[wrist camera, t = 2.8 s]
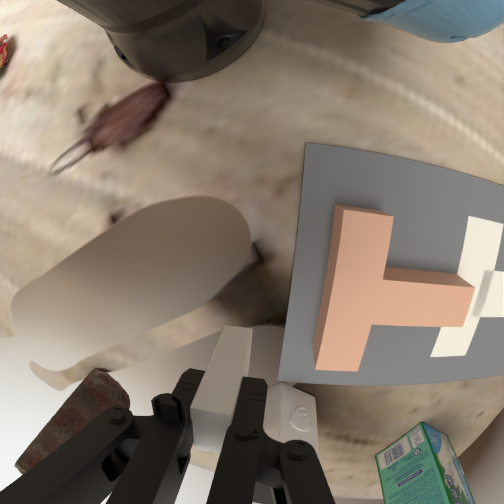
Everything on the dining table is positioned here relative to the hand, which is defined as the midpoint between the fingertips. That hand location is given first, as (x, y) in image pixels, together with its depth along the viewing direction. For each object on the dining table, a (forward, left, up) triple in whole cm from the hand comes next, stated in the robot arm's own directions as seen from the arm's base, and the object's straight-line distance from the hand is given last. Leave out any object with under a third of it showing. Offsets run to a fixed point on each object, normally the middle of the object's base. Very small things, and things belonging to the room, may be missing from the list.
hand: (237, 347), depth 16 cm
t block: (0, +13, -12) cm, 18 cm away
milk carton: (+26, +26, -12) cm, 39 cm away
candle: (+20, -19, -12) cm, 30 cm away
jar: (+17, +4, -12) cm, 21 cm away
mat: (0, +21, -12) cm, 24 cm away
